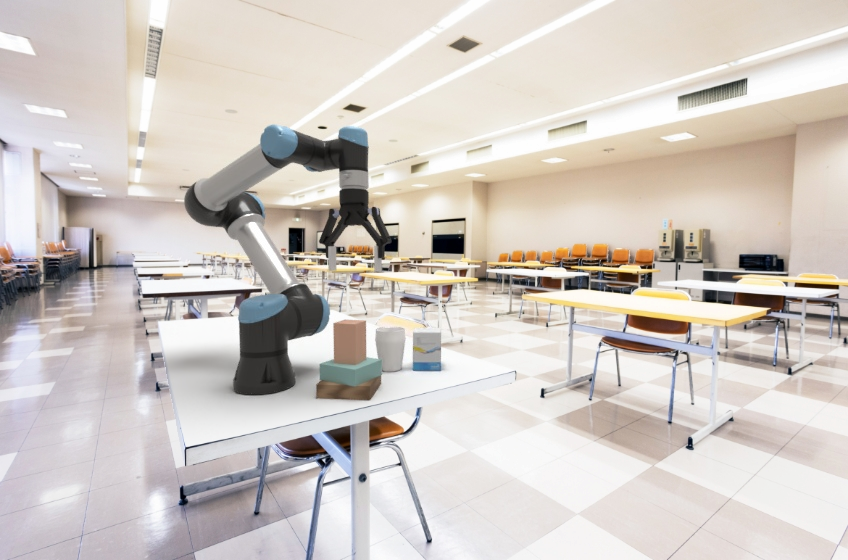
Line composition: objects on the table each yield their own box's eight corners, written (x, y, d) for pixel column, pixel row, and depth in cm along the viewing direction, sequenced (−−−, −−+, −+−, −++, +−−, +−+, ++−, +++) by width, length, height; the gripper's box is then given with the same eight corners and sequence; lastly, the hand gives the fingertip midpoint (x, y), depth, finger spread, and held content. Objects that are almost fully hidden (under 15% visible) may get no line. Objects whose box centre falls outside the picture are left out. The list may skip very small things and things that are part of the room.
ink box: (441, 371, 121) (441, 332, 120) (412, 371, 121) (412, 331, 120) (440, 363, 130) (440, 327, 129) (413, 363, 130) (413, 326, 129)
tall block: (333, 363, 102) (333, 323, 101) (345, 357, 107) (344, 319, 107) (355, 365, 100) (355, 324, 99) (366, 359, 106) (366, 320, 105)
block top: (319, 379, 101) (319, 363, 101) (348, 369, 111) (348, 354, 111) (355, 386, 96) (355, 369, 96) (381, 374, 106) (381, 359, 105)
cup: (401, 373, 118) (401, 332, 117) (371, 372, 120) (371, 331, 119) (408, 365, 127) (408, 327, 126) (380, 364, 129) (380, 326, 128)
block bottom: (316, 400, 98) (316, 384, 97) (333, 384, 111) (333, 369, 110) (370, 402, 96) (369, 386, 96) (381, 385, 109) (381, 370, 109)
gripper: (304, 190, 108) (306, 270, 109) (391, 184, 99) (392, 272, 100) (321, 194, 115) (322, 270, 116) (403, 189, 106) (404, 271, 107)
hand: (354, 271), depth 108 cm, fingers open, 13 cm apart
